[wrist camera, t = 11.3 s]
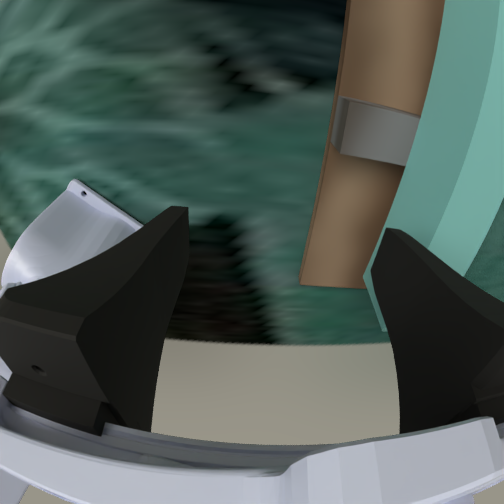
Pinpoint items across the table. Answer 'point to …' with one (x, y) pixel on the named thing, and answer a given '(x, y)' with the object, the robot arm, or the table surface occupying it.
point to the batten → (456, 142)
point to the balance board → (361, 181)
